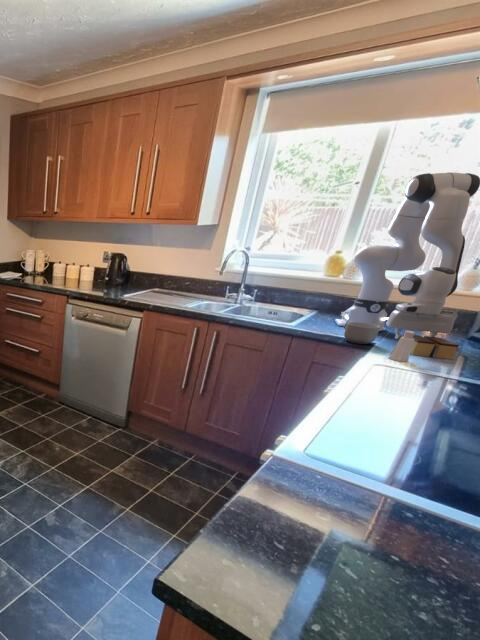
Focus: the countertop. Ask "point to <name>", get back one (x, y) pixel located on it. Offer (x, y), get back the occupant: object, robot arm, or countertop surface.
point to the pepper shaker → (403, 347)
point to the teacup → (360, 332)
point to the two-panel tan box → (426, 344)
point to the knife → (434, 351)
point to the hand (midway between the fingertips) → (411, 340)
